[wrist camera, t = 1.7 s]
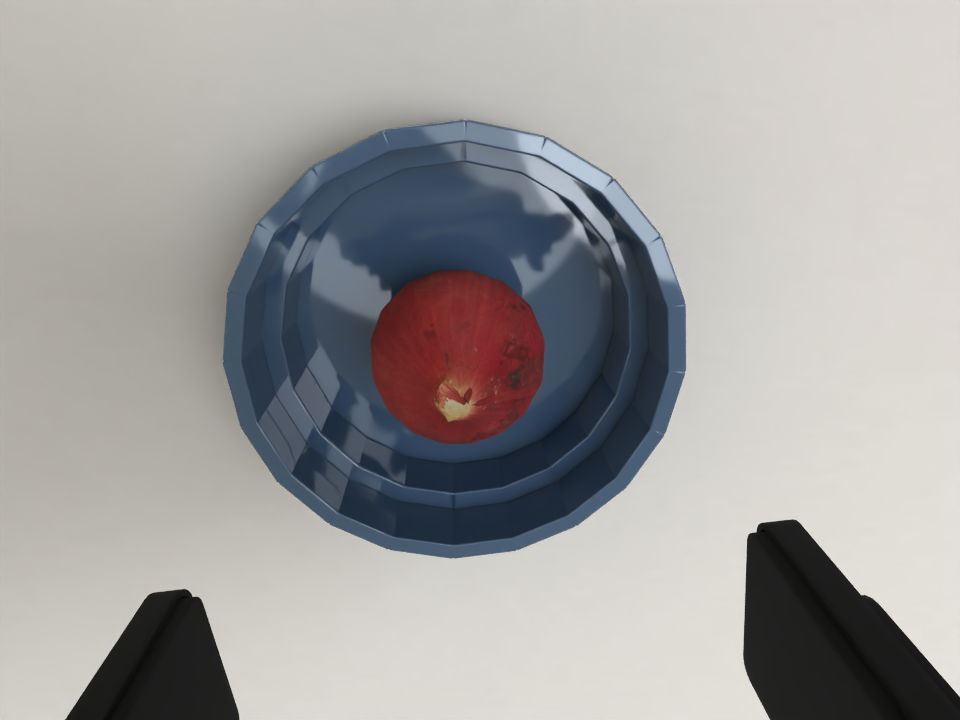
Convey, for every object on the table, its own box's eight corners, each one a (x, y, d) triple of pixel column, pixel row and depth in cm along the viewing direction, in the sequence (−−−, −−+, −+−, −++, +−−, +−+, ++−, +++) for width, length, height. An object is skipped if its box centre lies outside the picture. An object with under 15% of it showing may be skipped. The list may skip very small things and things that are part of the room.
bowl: (223, 149, 23) (164, 157, 18) (637, 96, 23) (685, 91, 18) (310, 503, 28) (282, 580, 23) (648, 461, 28) (687, 530, 23)
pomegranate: (533, 249, 24) (570, 308, 17) (529, 390, 26) (560, 498, 19) (378, 250, 24) (345, 309, 17) (386, 392, 26) (359, 502, 19)
